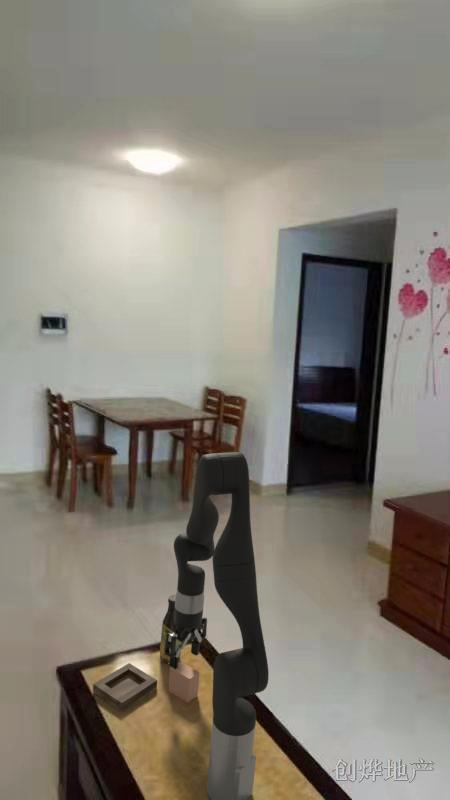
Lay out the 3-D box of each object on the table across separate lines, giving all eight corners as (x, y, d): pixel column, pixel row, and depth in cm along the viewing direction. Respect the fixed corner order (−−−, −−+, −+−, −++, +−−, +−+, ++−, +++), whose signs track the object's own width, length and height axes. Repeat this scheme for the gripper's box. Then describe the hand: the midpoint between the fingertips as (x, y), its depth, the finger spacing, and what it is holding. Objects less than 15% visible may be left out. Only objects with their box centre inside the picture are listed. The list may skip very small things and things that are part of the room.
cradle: (156, 688, 166) (157, 680, 165) (121, 711, 156) (121, 703, 155) (128, 671, 172) (129, 663, 172) (92, 692, 162) (93, 683, 162)
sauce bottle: (156, 654, 181) (160, 592, 178) (176, 651, 184) (180, 590, 180) (163, 667, 175) (168, 603, 172) (184, 663, 178) (188, 600, 174)
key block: (197, 695, 164) (199, 672, 163) (187, 702, 161) (189, 679, 160) (178, 684, 168) (180, 661, 167) (168, 691, 165) (170, 667, 164)
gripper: (182, 621, 152) (177, 679, 155) (217, 601, 164) (211, 655, 167) (160, 609, 157) (156, 666, 160) (195, 590, 168) (191, 643, 171)
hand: (184, 660), depth 163 cm, fingers open, 8 cm apart
